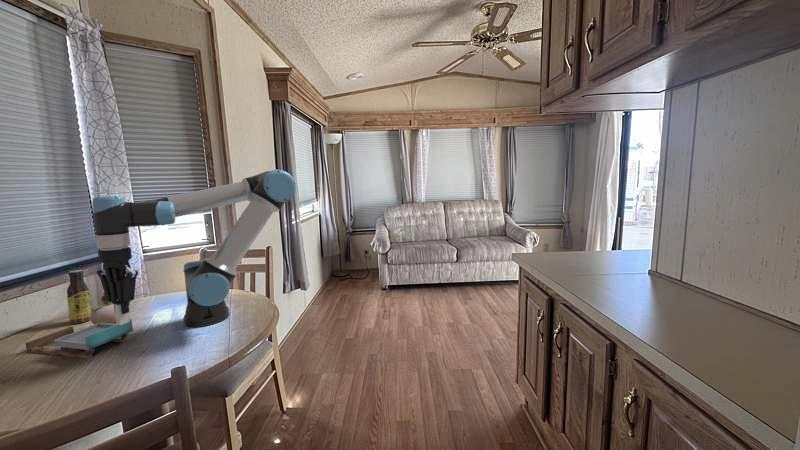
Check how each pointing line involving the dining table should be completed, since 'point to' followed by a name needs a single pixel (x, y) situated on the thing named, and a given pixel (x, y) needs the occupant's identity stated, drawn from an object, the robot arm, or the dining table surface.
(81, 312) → the sauce bottle
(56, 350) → the rails
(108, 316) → the decorative fruit
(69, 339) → the shallow teal tray
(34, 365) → the dining table surface
